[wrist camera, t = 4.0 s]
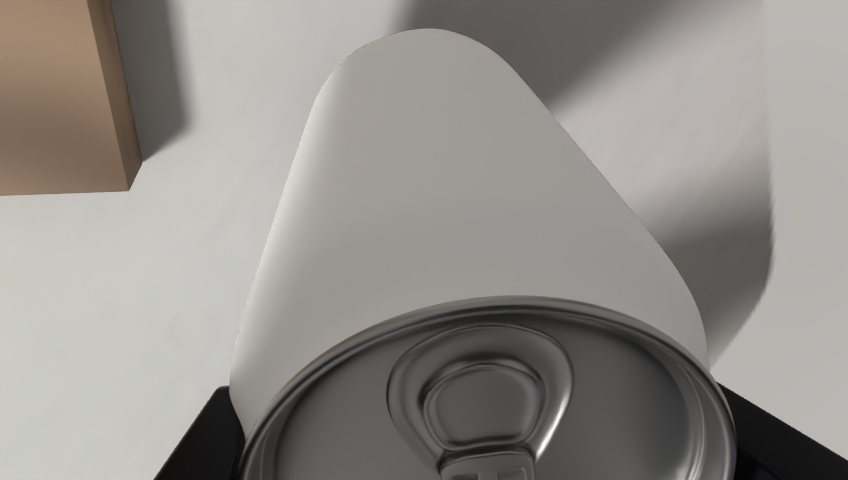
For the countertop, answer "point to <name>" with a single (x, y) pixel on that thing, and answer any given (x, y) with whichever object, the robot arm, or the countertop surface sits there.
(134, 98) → the countertop surface
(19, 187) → the cutting board
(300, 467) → the can
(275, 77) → the countertop surface
